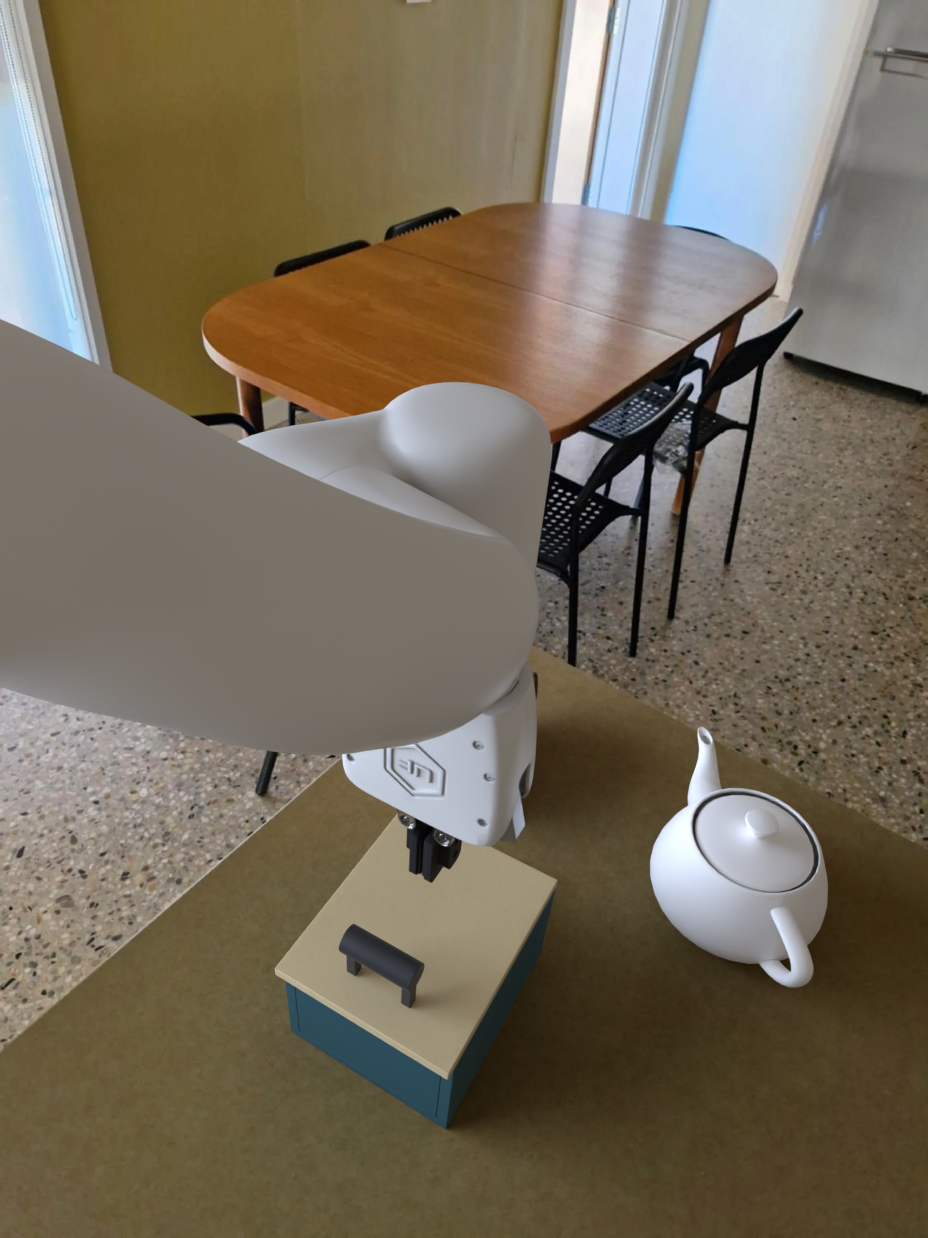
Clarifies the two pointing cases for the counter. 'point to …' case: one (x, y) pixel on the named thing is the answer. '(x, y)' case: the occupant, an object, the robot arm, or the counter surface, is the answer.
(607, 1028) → the counter surface
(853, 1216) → the counter surface
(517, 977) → the teal open box
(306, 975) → the lid
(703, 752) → the teapot
